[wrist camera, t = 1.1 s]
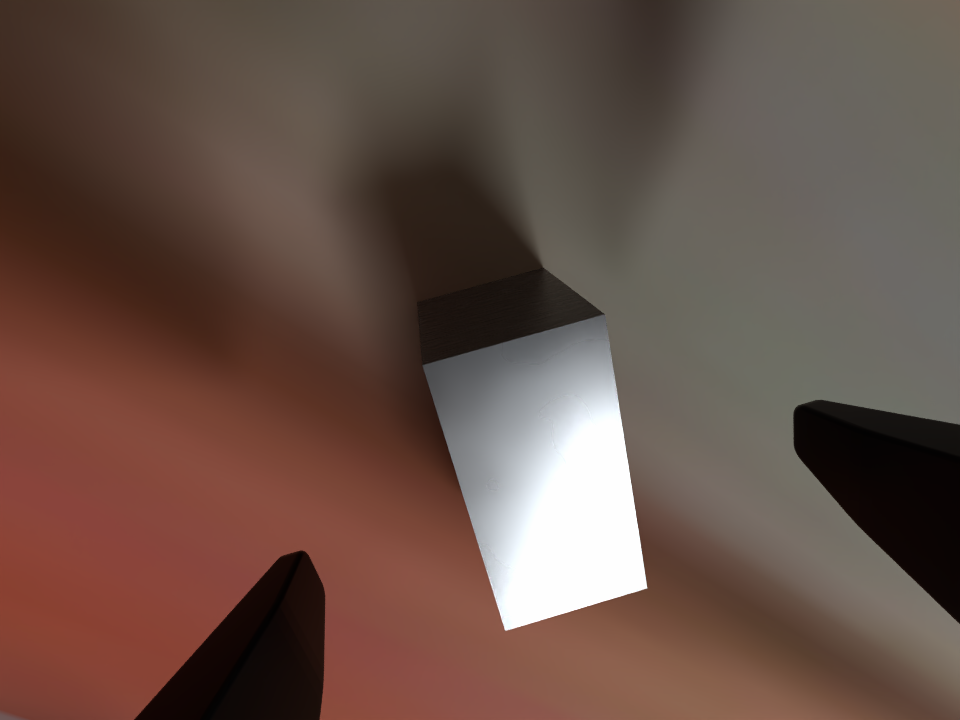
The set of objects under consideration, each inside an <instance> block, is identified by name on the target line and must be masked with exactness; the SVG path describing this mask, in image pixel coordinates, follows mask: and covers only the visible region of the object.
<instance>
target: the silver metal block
mask: <svg viewBox="0 0 960 720" xmlns="http://www.w3.org/2000/svg"><path fill="white" fill-rule="evenodd" d="M417 306H418V318H419V330H420V342H421V354H422V366H423V369H424V372H425V375H426V378H427V382H428V385H429V388H430V391H431V394H432V397H433V401H434V404H435V407H436V410H437V413H438V417H439V420H440V423H441V426H442V429H443V433H444V436H445V439H446V442H447V445H448V449H449V452H450V455H451V458H452V461H453V465H454V468H455V471H456V474H457V477H458V481H459V484H460V487H461V490H462V493H463V497H464V500H465V503H466V506H467V509H468V512H469V516H470V519H471V522H472V525H473V528H474V532H475V535H476V538H477V541H478V544H479V548H480V551H481V554H482V557H483V560H484V564H485V567H486V570H487V573H488V576H489V580H490V583H491V586H492V589H493V592H494V596H495V599H496V602H497V605H498V608H499V612H500V615H501V618H502V621H503V624H504V627H505V631H506V630H509V629H513V628H516V627H519V626H522V625H526V624H529V623H532V622H536V621H539V620H542V619H546V618H549V617H552V616H556V615H559V614H562V613H566V612H569V611H572V610H576V609H579V608H582V607H586V606H589V605H592V604H596V603H599V602H602V601H606V600H609V599H612V598H616V597H619V596H622V595H626V594H629V593H632V592H636V591H639V590H642V589H646V588H647V584H646V578H645V571H644V565H643V558H642V552H641V545H640V539H639V533H638V526H637V520H636V513H635V507H634V500H633V494H632V487H631V481H630V474H629V468H628V461H627V455H626V448H625V442H624V435H623V429H622V422H621V416H620V409H619V403H618V396H617V390H616V383H615V377H614V370H613V364H612V358H611V351H610V345H609V338H608V332H607V325H606V319H605V314H604V313H602V312H601V311H600V310H598V309H597V308H596V307H595V306H593V305H592V304H591V303H589V302H588V301H587V300H585V299H584V298H583V297H581V296H580V295H579V294H577V293H576V292H575V291H573V290H572V289H571V288H570V287H568V286H567V285H566V284H564V283H563V282H562V281H560V280H559V279H558V278H556V277H555V276H554V275H552V274H551V273H550V272H548V271H547V270H546V269H544V268H541V269H538V270H534V271H530V272H527V273H523V274H519V275H516V276H512V277H508V278H505V279H501V280H497V281H494V282H490V283H487V284H483V285H479V286H476V287H472V288H468V289H465V290H461V291H457V292H454V293H450V294H447V295H443V296H439V297H436V298H432V299H428V300H425V301H421V302H417Z"/></svg>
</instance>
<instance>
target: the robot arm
mask: <svg viewBox="0 0 960 720" xmlns="http://www.w3.org/2000/svg"><path fill="white" fill-rule="evenodd" d="M793 423H794V448H795V451H796V453H797V455H798V457H799V458H800V459H801V460H802V462H803V463H804V464H805V465H806V466H807V467H808V469H809V470H810V471H811V472H812V473H813V474H814V476H815V477H816V478H817V479H818V480H819V481H820V483H821V484H822V485H823V486H824V487H825V488H826V490H827V491H828V492H829V493H830V494H831V495H832V497H833V498H834V499H835V500H836V501H837V502H838V504H839V505H840V506H841V507H842V508H843V509H844V511H845V512H846V513H847V514H848V515H849V516H850V517H851V518H852V520H853V521H854V522H855V523H856V524H857V525H858V526H859V527H860V528H861V529H862V530H863V531H864V532H865V533H866V534H867V535H868V536H869V537H870V538H871V539H872V540H873V541H874V542H875V543H876V544H877V545H878V546H879V547H880V548H881V549H882V550H883V551H884V552H886V553H887V554H888V555H889V556H890V557H891V558H892V559H893V560H894V561H895V562H896V563H897V564H898V565H899V566H900V567H901V568H902V569H903V570H904V571H905V572H906V573H907V574H908V575H909V576H910V577H911V578H913V579H914V580H915V581H916V582H917V583H918V584H919V585H920V586H921V587H922V588H923V589H924V590H925V591H926V592H927V593H928V594H929V595H930V596H931V597H932V598H933V599H934V600H935V601H936V602H937V603H938V604H940V605H941V606H942V607H943V608H944V609H945V610H946V611H947V612H948V613H949V614H950V615H951V616H952V617H953V618H954V619H955V620H956V621H957V622H958V623H959V624H960V425H958V424H953V423H947V422H942V421H936V420H930V419H925V418H919V417H914V416H908V415H903V414H897V413H891V412H886V411H880V410H875V409H869V408H864V407H858V406H853V405H847V404H841V403H836V402H830V401H825V400H815V401H811V402H808V403H805V404H801V405H798V406H797V407H796V408H795V410H794V414H793ZM324 639H325V591H324V587H323V584H322V582H321V580H320V578H319V576H318V573H317V571H316V569H315V567H314V565H313V563H312V561H311V559H310V557H309V555H308V554H307V553H306V552H305V551H297V552H294V553H290V554H287V555H284V556H281V557H280V558H279V559H278V560H277V561H276V562H275V563H274V564H273V565H272V566H271V567H270V569H269V570H268V571H267V572H266V573H265V574H264V575H263V576H262V578H261V579H260V580H259V581H258V582H257V583H256V584H255V585H254V586H253V588H252V589H251V590H250V591H249V592H248V593H247V594H246V595H245V596H244V598H243V599H242V600H241V601H240V602H239V603H238V604H237V605H236V607H235V608H234V609H233V610H232V611H231V612H230V613H229V614H228V615H227V617H226V618H225V619H224V620H223V621H222V622H221V623H220V624H219V626H218V627H217V628H216V629H215V630H214V631H213V632H212V633H211V634H210V636H209V637H208V638H207V639H206V640H205V641H204V642H203V643H202V645H201V646H200V647H199V648H198V649H197V650H196V651H195V652H194V653H193V655H192V656H191V657H190V658H189V659H188V660H187V661H186V662H185V663H184V665H183V666H182V667H181V668H180V669H179V670H178V671H177V672H176V674H175V675H174V676H173V677H172V678H171V679H170V680H169V681H168V682H167V684H166V685H165V686H164V687H163V688H162V689H161V690H160V691H159V692H158V694H157V695H156V696H155V697H154V698H153V699H152V700H151V701H150V703H149V704H148V705H147V706H146V707H145V708H144V709H143V710H142V711H141V713H140V714H139V715H138V716H137V717H136V718H135V719H134V720H320V712H321V704H322V694H323V681H324Z"/></svg>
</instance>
